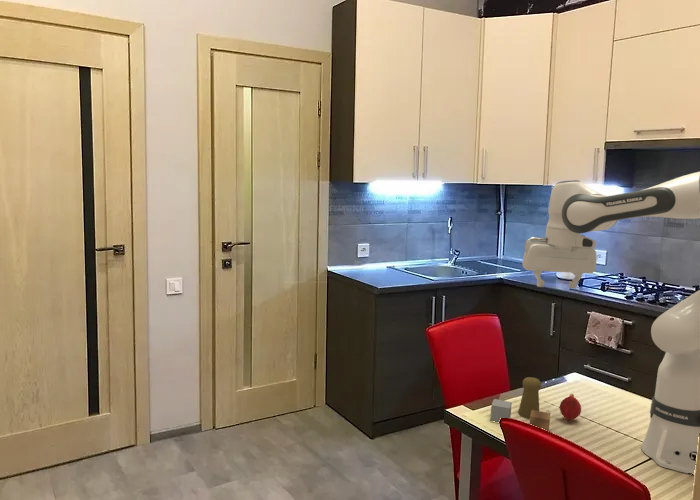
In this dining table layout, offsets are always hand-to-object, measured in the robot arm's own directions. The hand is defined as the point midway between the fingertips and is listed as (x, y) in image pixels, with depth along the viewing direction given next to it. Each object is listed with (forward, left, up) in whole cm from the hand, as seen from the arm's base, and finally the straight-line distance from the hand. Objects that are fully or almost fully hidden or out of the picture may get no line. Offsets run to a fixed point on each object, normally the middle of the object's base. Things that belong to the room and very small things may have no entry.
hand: (556, 287), depth 168 cm
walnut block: (-3, +11, -39) cm, 40 cm away
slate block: (+8, +11, -39) cm, 41 cm away
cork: (+4, +1, -39) cm, 39 cm away
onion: (-6, -3, -39) cm, 39 cm away
